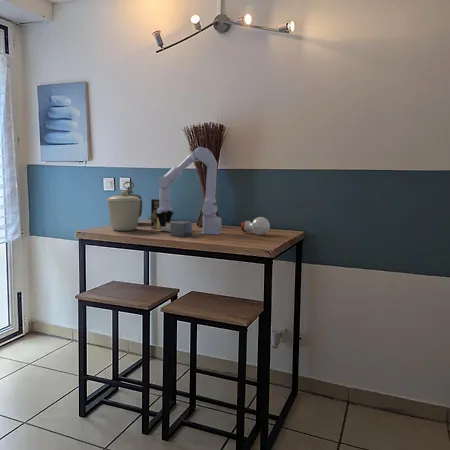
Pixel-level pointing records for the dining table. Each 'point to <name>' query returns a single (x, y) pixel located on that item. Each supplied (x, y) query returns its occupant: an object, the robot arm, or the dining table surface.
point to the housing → (181, 228)
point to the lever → (166, 227)
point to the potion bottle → (256, 226)
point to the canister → (124, 212)
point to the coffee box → (154, 212)
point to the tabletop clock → (133, 195)
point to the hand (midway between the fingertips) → (164, 225)
